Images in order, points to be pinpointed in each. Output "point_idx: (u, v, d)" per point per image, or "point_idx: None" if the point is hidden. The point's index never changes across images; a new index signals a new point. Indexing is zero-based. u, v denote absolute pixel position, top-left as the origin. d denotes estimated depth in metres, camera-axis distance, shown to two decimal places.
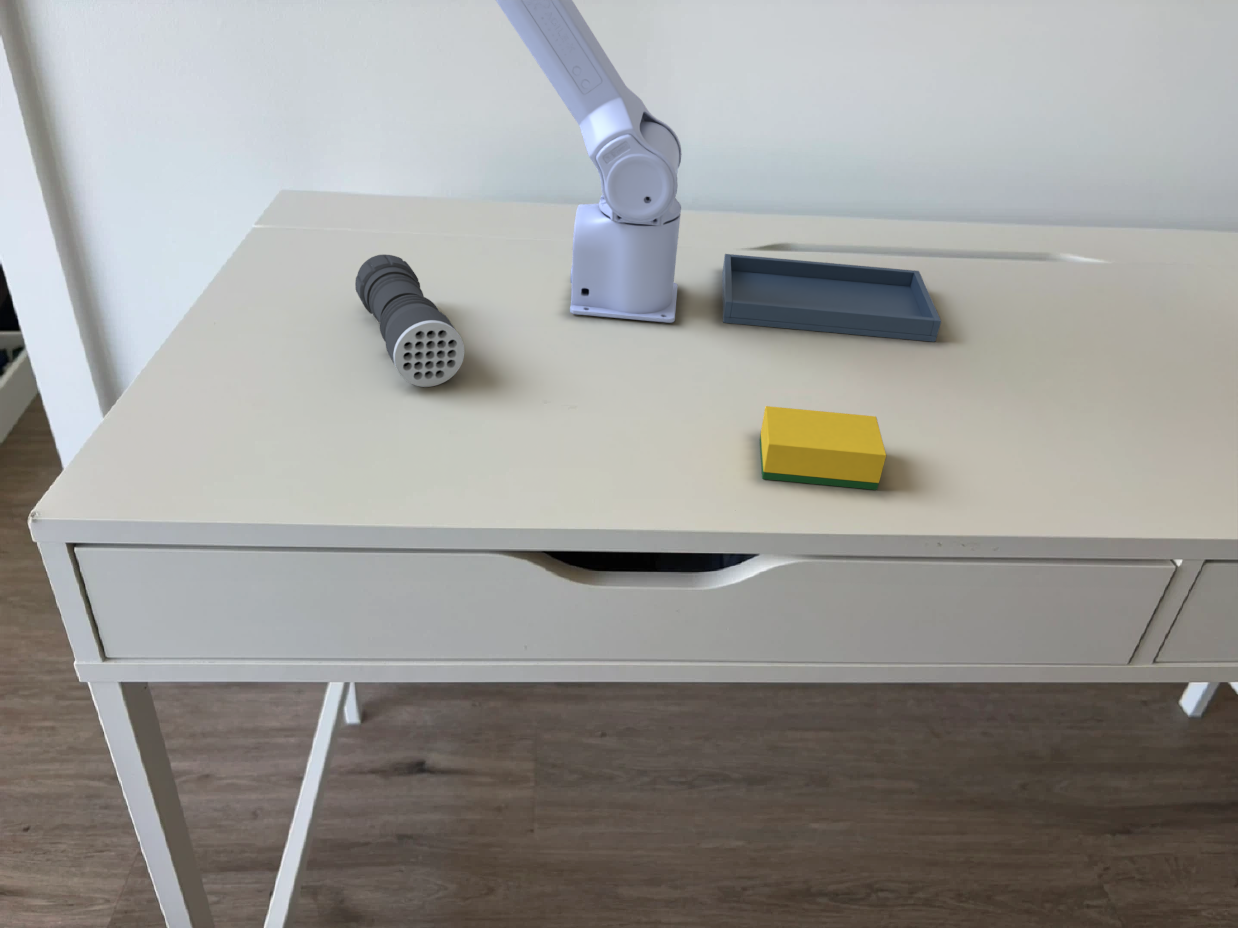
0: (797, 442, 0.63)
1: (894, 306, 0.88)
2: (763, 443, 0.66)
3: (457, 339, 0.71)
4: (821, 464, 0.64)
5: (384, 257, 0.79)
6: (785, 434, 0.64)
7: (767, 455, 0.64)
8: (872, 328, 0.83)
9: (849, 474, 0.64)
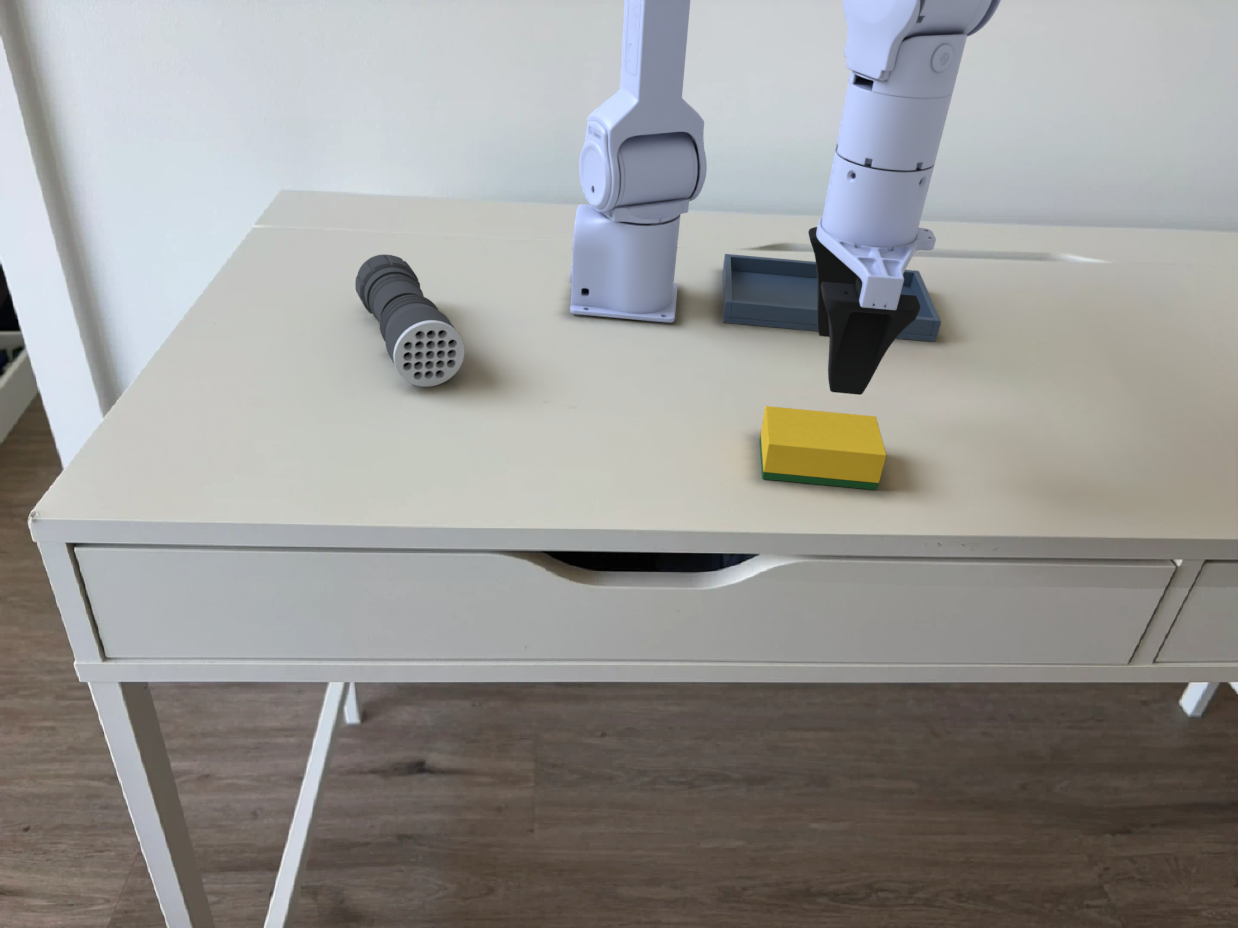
0: (797, 442, 0.63)
1: None
2: (763, 443, 0.66)
3: (457, 339, 0.71)
4: (821, 464, 0.64)
5: (384, 257, 0.79)
6: (785, 434, 0.64)
7: (767, 455, 0.64)
8: None
9: (849, 474, 0.64)
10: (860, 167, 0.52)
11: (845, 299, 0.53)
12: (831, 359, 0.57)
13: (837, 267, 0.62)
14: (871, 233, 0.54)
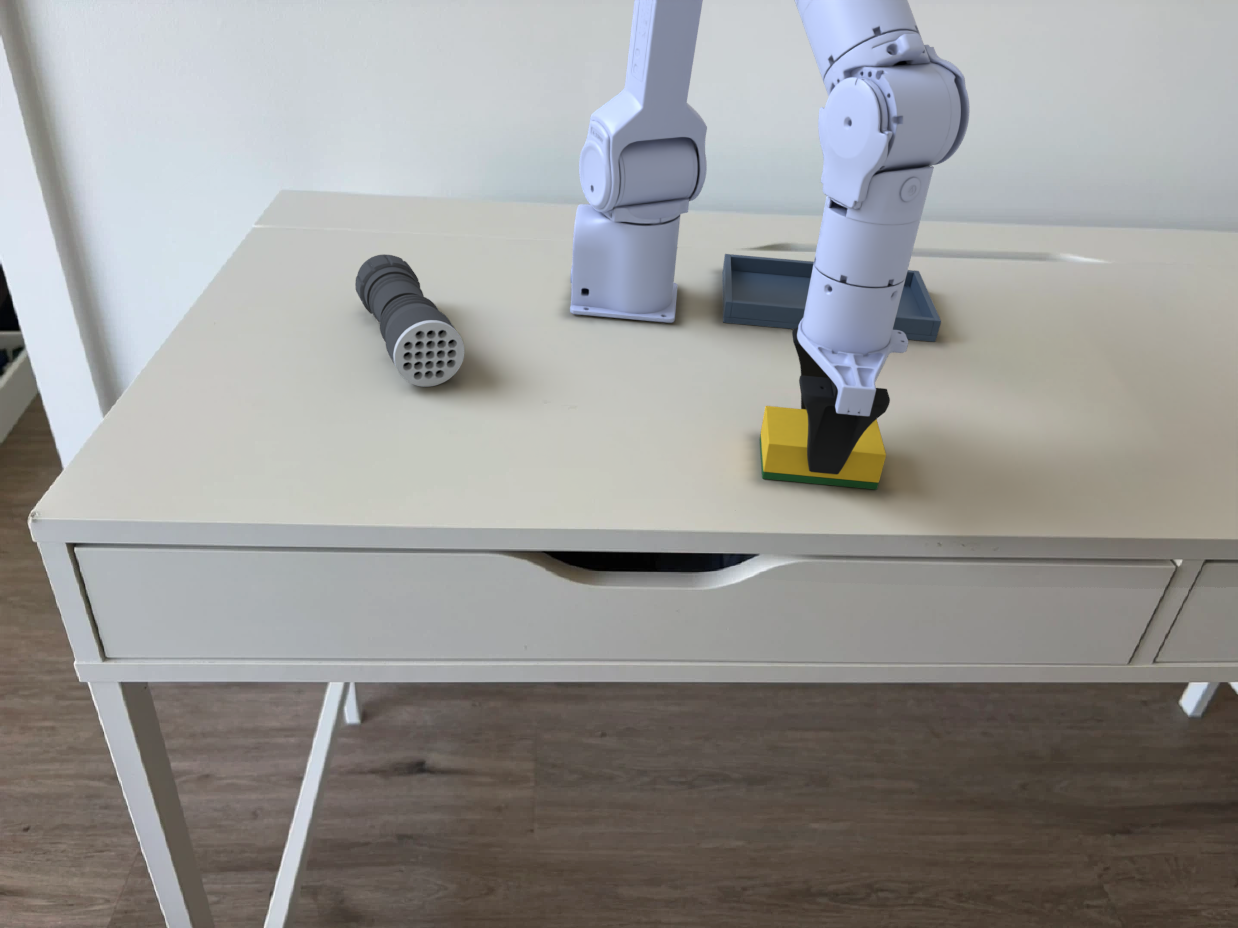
0: (797, 442, 0.63)
1: None
2: (763, 443, 0.66)
3: (457, 339, 0.71)
4: None
5: (384, 257, 0.79)
6: (786, 433, 0.64)
7: (767, 455, 0.64)
8: None
9: (849, 474, 0.64)
10: (836, 282, 0.56)
11: (821, 394, 0.58)
12: (809, 444, 0.62)
13: (819, 366, 0.65)
14: (847, 341, 0.58)
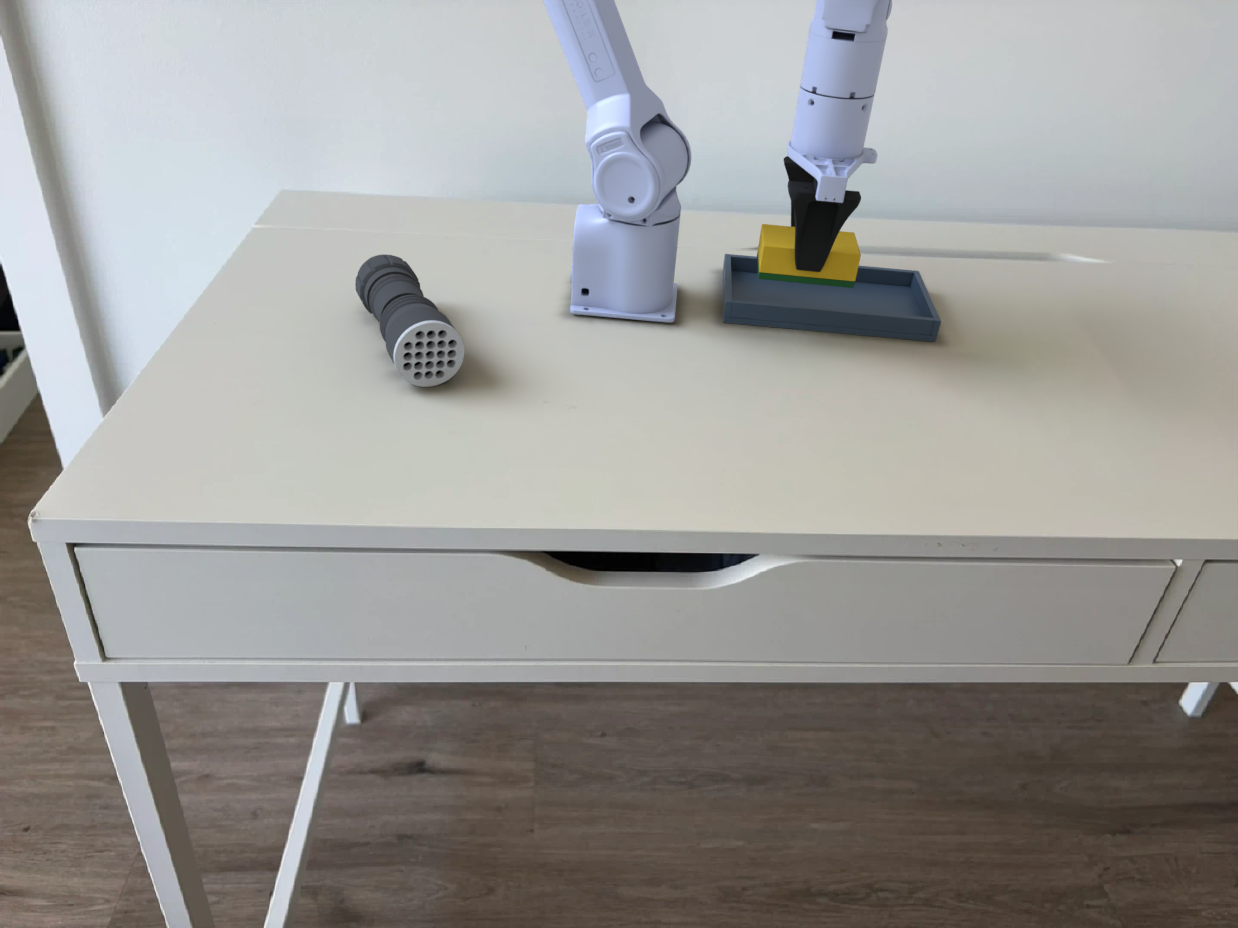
0: (787, 245, 0.77)
1: (894, 306, 0.88)
2: (759, 252, 0.79)
3: (457, 339, 0.71)
4: None
5: (384, 257, 0.79)
6: (778, 240, 0.77)
7: (762, 256, 0.77)
8: (872, 328, 0.83)
9: (830, 273, 0.77)
10: (817, 96, 0.69)
11: (805, 191, 0.71)
12: (796, 242, 0.75)
13: None
14: (826, 147, 0.71)
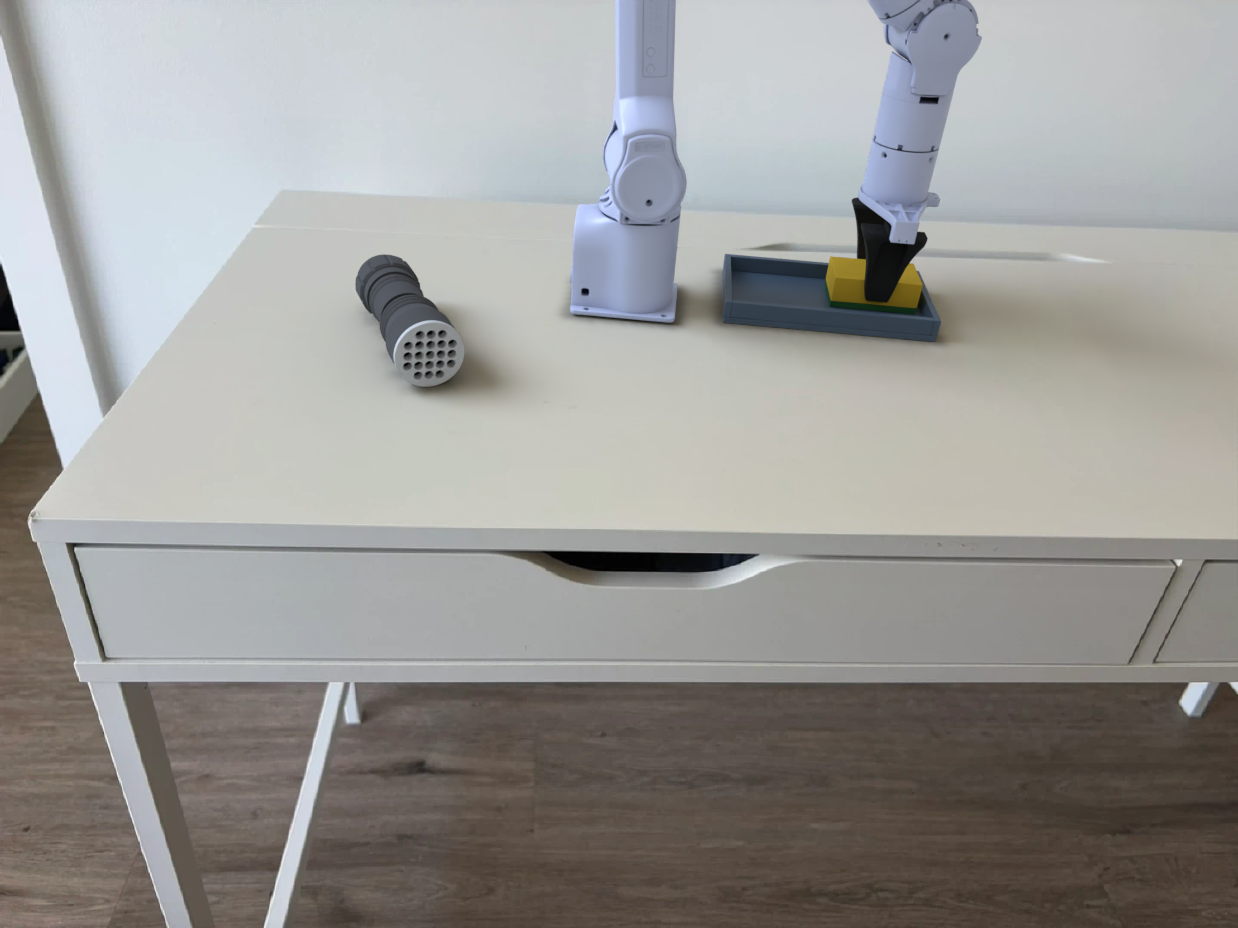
0: (856, 276, 0.86)
1: None
2: (829, 282, 0.88)
3: (457, 339, 0.71)
4: None
5: (384, 257, 0.79)
6: (847, 272, 0.86)
7: (834, 286, 0.86)
8: (872, 328, 0.83)
9: (894, 301, 0.86)
10: (890, 149, 0.79)
11: (878, 233, 0.80)
12: (867, 276, 0.84)
13: None
14: (897, 194, 0.80)
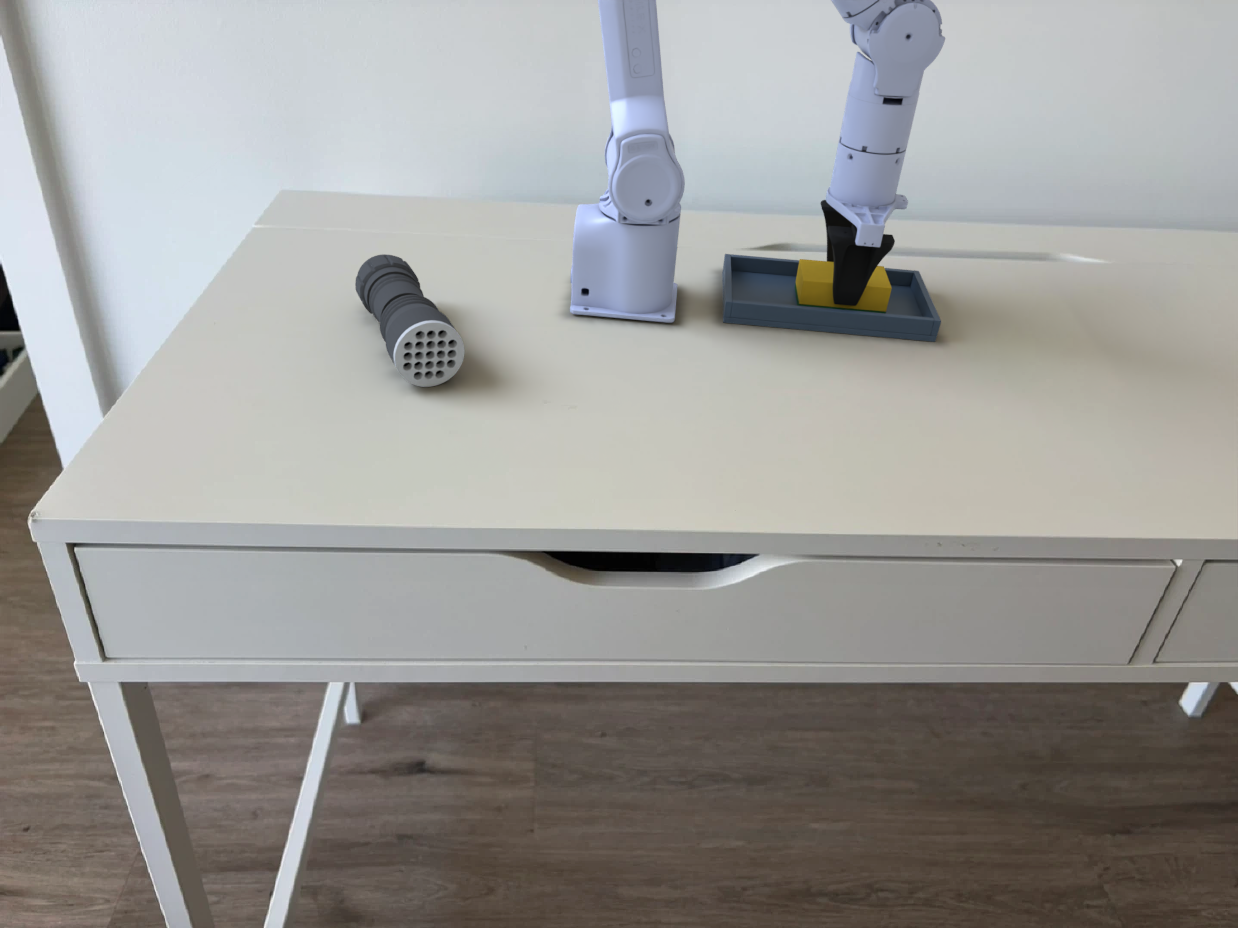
0: (825, 279, 0.85)
1: (894, 306, 0.88)
2: (798, 285, 0.87)
3: (457, 339, 0.71)
4: None
5: (384, 257, 0.79)
6: (816, 275, 0.85)
7: (802, 289, 0.85)
8: (872, 328, 0.83)
9: (864, 304, 0.85)
10: (855, 151, 0.78)
11: (844, 236, 0.79)
12: (835, 280, 0.83)
13: None
14: (863, 196, 0.79)
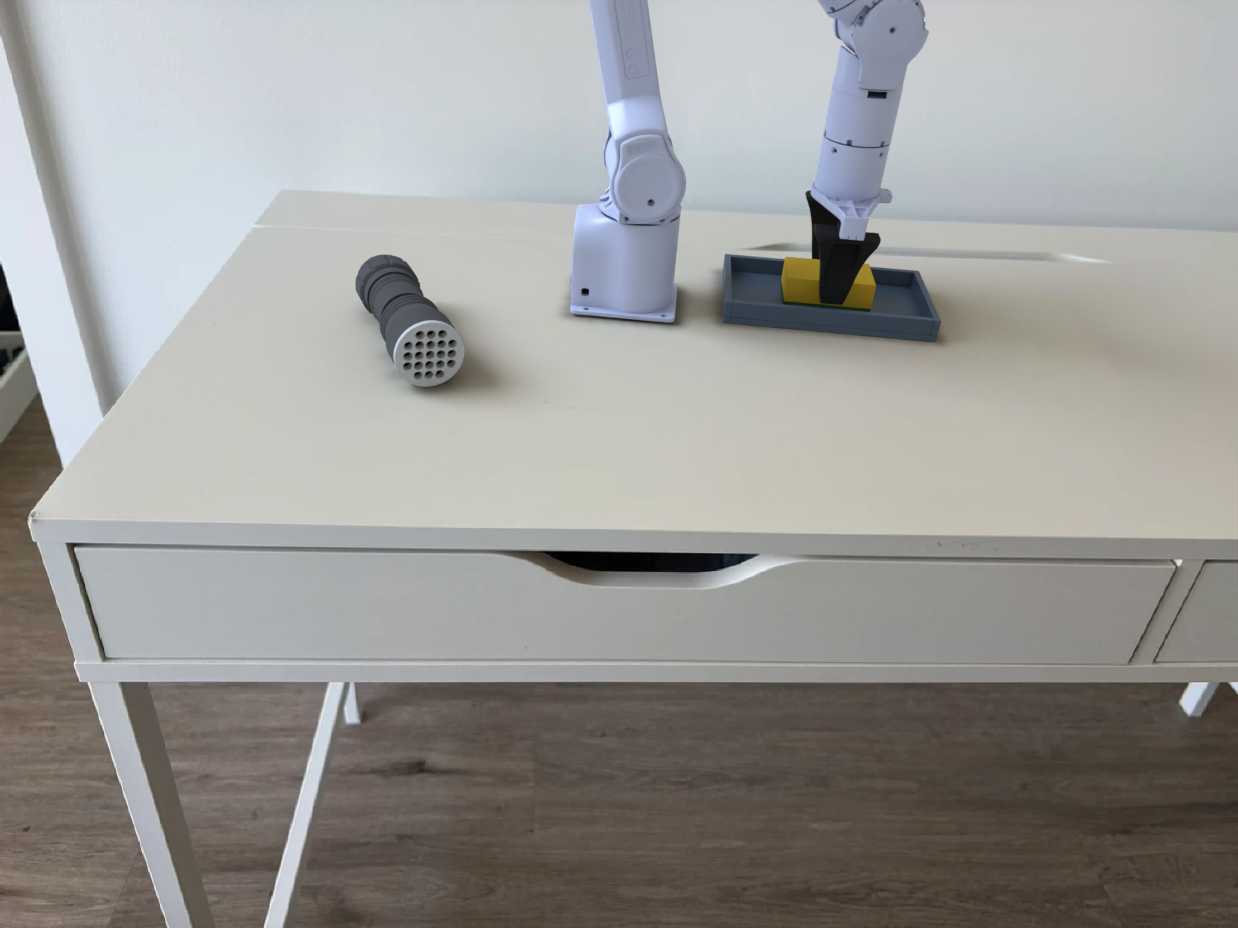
0: (809, 277, 0.85)
1: (894, 306, 0.88)
2: (784, 282, 0.88)
3: (457, 339, 0.71)
4: None
5: (384, 257, 0.79)
6: (801, 272, 0.86)
7: (787, 287, 0.85)
8: (872, 328, 0.83)
9: (848, 302, 0.86)
10: (840, 145, 0.78)
11: (830, 234, 0.79)
12: (821, 278, 0.82)
13: (825, 218, 0.88)
14: (847, 190, 0.79)
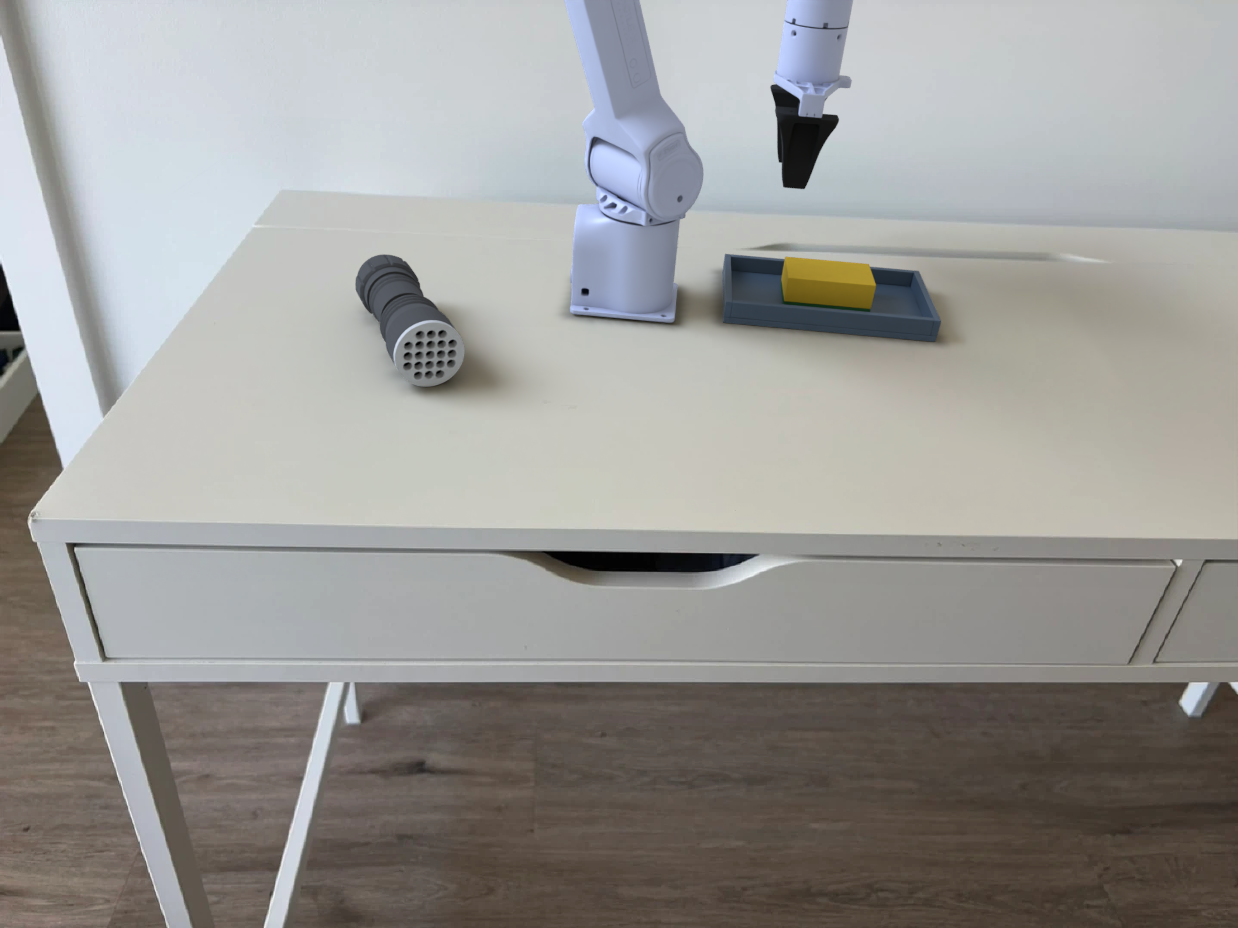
0: (809, 277, 0.85)
1: (894, 306, 0.88)
2: (784, 282, 0.88)
3: (457, 339, 0.71)
4: (827, 294, 0.85)
5: (384, 257, 0.79)
6: (801, 272, 0.86)
7: (787, 287, 0.85)
8: (872, 328, 0.83)
9: (848, 302, 0.86)
10: (799, 27, 0.81)
11: (790, 113, 0.82)
12: (783, 161, 0.86)
13: None
14: (807, 72, 0.83)
